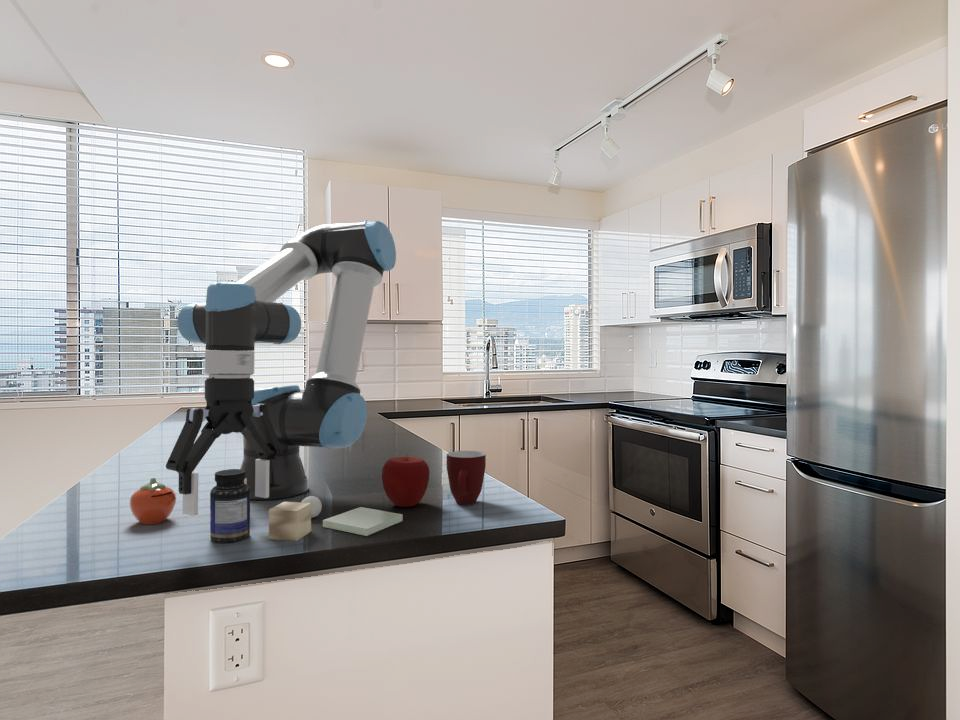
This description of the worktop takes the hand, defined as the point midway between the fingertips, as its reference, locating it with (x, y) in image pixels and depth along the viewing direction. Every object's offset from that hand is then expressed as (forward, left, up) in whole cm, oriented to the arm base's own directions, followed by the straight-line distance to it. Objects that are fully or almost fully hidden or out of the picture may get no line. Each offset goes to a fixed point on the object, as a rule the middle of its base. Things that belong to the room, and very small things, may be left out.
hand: (228, 505), depth 96 cm
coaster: (+14, +17, -6) cm, 23 cm away
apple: (+13, +31, -6) cm, 35 cm away
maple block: (+7, +6, -6) cm, 11 cm away
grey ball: (+3, +15, -6) cm, 17 cm away
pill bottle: (0, 0, -6) cm, 6 cm away
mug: (+23, +38, -6) cm, 45 cm away
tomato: (-20, -1, -6) cm, 21 cm away
